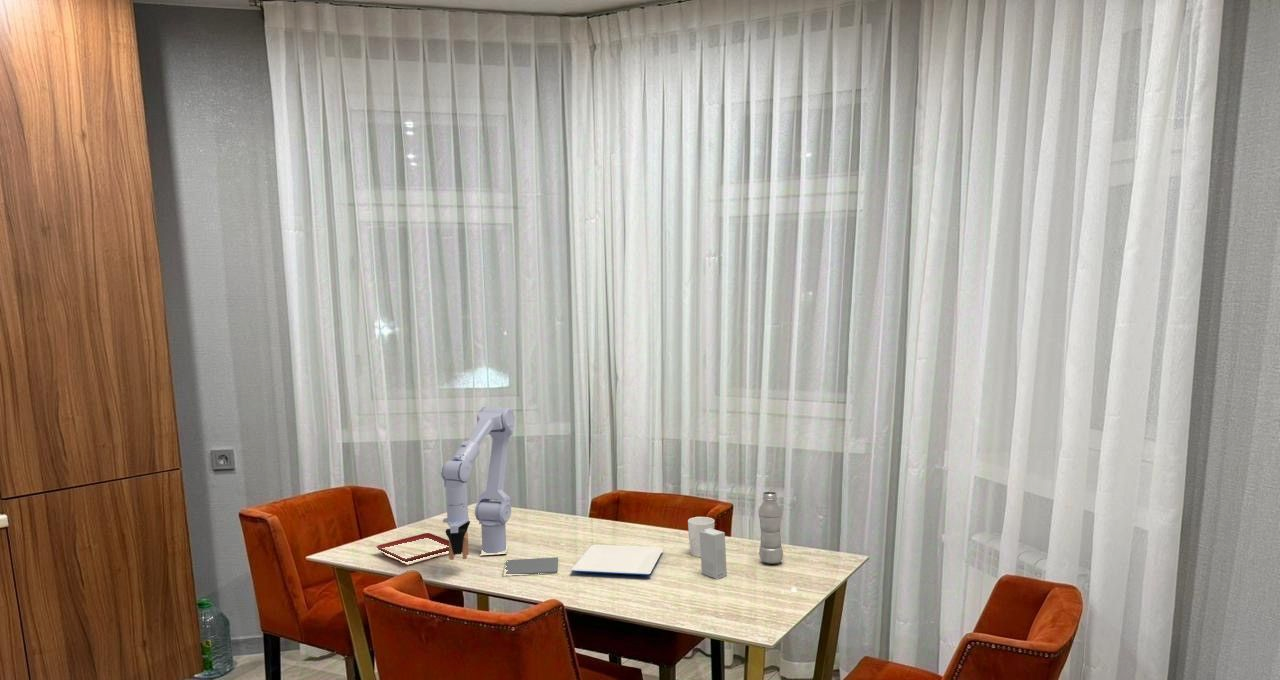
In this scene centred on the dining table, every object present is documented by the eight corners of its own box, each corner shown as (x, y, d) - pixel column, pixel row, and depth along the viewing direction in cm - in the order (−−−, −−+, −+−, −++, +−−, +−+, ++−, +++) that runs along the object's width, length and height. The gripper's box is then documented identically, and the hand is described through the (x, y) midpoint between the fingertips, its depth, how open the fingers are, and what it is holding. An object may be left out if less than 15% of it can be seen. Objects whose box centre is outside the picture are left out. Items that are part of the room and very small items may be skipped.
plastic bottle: (783, 567, 209) (781, 496, 208) (758, 566, 211) (757, 495, 210) (783, 559, 216) (782, 490, 215) (759, 558, 217) (758, 490, 216)
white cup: (693, 559, 217) (693, 525, 217) (685, 551, 225) (684, 518, 225) (719, 556, 220) (718, 522, 219) (709, 548, 227) (708, 515, 227)
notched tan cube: (452, 554, 213) (451, 533, 213) (468, 553, 213) (467, 532, 213) (449, 559, 208) (448, 538, 208) (466, 558, 209) (465, 537, 208)
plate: (649, 580, 202) (649, 573, 202) (570, 576, 206) (570, 569, 206) (664, 553, 224) (663, 546, 224) (591, 550, 228) (591, 543, 228)
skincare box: (727, 576, 203) (726, 531, 203) (715, 580, 201) (714, 535, 200) (711, 570, 208) (710, 527, 208) (699, 574, 205) (698, 530, 205)
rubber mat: (506, 562, 219) (506, 560, 219) (558, 559, 220) (558, 557, 220) (502, 576, 207) (502, 574, 207) (557, 573, 208) (557, 571, 208)
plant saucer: (459, 554, 229) (459, 543, 228) (405, 569, 216) (404, 558, 215) (428, 542, 241) (428, 532, 241) (375, 556, 228) (375, 545, 228)
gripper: (446, 497, 217) (448, 543, 217) (438, 510, 202) (440, 560, 203) (471, 496, 217) (473, 542, 218) (464, 509, 203) (466, 558, 204)
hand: (458, 550), depth 211 cm, fingers closed on notched tan cube, 5 cm apart
